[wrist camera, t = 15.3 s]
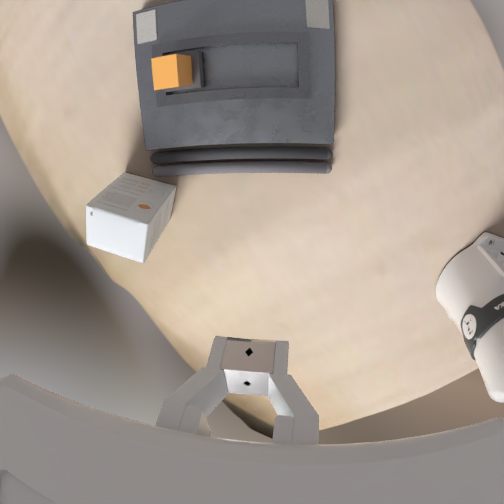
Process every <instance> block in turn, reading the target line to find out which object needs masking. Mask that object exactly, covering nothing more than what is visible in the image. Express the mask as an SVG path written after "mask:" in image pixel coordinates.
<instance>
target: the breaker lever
mask: <svg viewBox="0 0 504 504" xmlns="http://www.w3.org/2000/svg"><path fill="white" fill-rule="evenodd" d="M151 61H152V73H153V84H154V90H160V89H165V92H171V91H178V90H186V89H194V88H202V87H204V75H203V60H202V51H192V52H185V53H178V54H172V55H167V56H162V57H156V58H151Z"/></svg>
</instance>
